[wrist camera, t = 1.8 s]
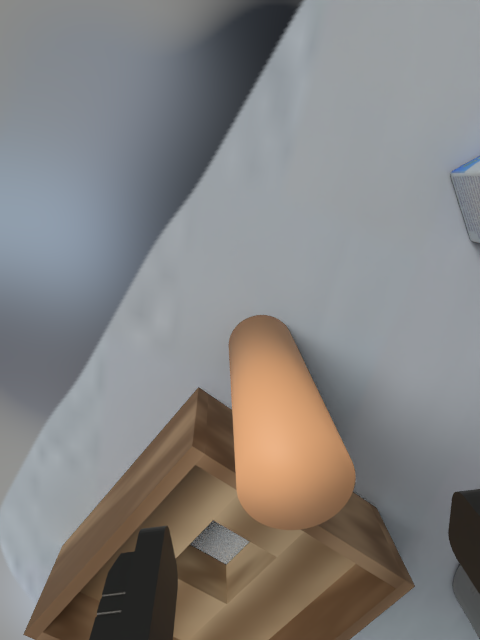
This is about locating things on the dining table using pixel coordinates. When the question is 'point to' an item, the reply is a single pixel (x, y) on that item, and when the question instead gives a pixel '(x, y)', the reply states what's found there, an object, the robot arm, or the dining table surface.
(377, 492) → the dining table surface
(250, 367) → the peg
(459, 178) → the medicine box
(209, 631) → the box
